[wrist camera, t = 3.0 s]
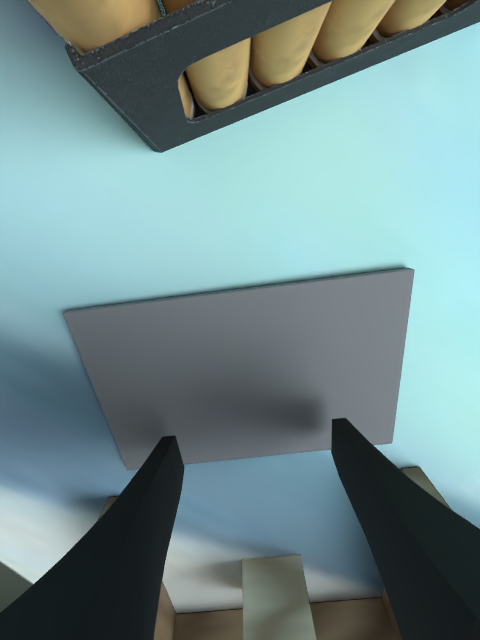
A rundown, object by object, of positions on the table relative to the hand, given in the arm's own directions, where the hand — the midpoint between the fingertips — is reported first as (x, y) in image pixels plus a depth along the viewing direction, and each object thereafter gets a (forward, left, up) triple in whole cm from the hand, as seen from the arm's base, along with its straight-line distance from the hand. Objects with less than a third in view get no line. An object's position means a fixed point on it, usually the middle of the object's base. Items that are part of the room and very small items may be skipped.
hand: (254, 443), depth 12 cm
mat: (0, -3, -1) cm, 3 cm away
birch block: (0, +14, -2) cm, 14 cm away
